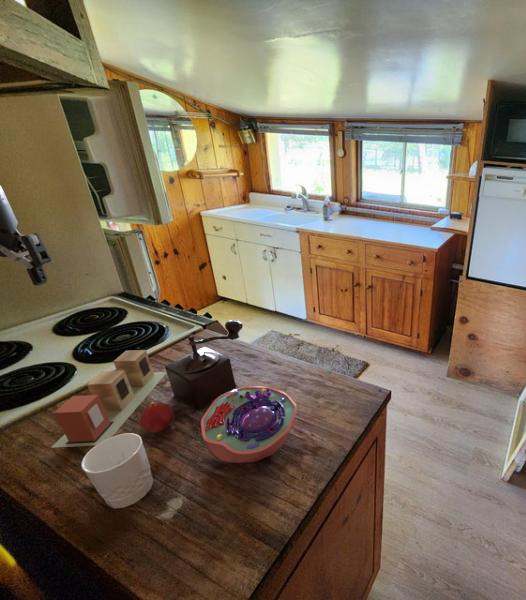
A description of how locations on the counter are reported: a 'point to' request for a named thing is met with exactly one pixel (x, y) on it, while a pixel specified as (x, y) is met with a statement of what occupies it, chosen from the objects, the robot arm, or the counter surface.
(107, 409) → the maple letter middle
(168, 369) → the manual coffee grinder
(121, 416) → the word mat
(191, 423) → the counter surface
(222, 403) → the cell model
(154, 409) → the red rounded lump
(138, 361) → the maple letter far
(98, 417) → the letter block
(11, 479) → the counter surface
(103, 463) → the white cup
